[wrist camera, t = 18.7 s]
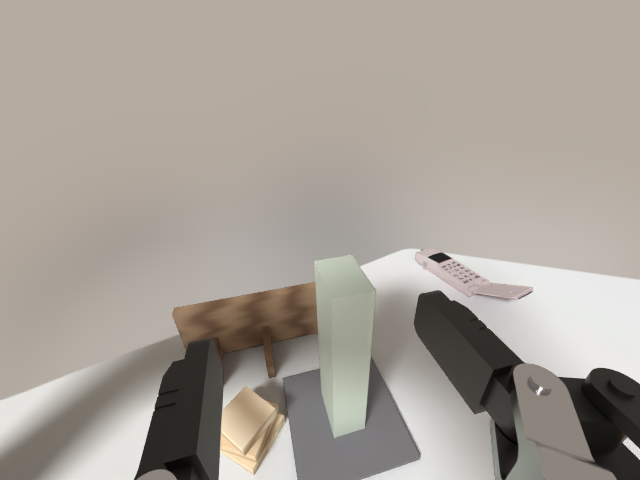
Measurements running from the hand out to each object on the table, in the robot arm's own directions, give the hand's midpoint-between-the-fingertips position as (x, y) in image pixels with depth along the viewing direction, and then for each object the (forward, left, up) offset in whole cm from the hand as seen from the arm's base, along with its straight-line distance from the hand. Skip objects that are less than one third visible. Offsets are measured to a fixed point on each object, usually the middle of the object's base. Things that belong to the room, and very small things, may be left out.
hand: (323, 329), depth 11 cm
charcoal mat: (+5, +12, -30) cm, 33 cm away
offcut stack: (-7, +13, -30) cm, 34 cm away
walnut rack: (-5, +24, -30) cm, 39 cm away
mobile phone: (+38, +32, -30) cm, 58 cm away
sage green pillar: (+5, +13, -29) cm, 32 cm away
